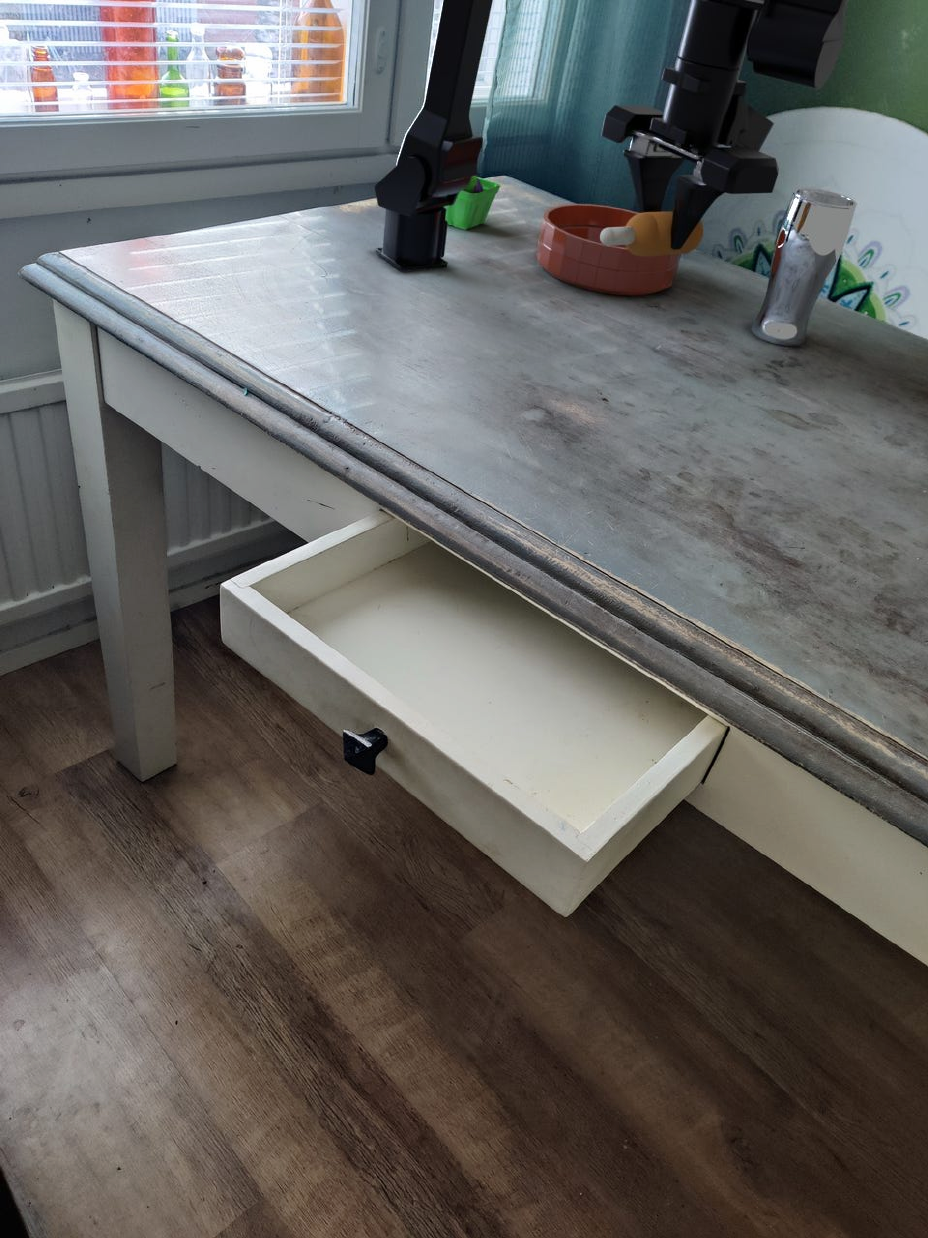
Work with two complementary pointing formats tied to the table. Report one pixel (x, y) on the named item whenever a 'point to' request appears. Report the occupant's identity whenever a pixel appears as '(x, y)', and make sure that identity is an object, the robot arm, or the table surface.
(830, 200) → the beer glass
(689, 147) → the robot arm
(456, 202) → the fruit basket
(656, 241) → the drumstick
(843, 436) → the table surface
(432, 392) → the table surface
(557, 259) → the shallow orange pet bowl
